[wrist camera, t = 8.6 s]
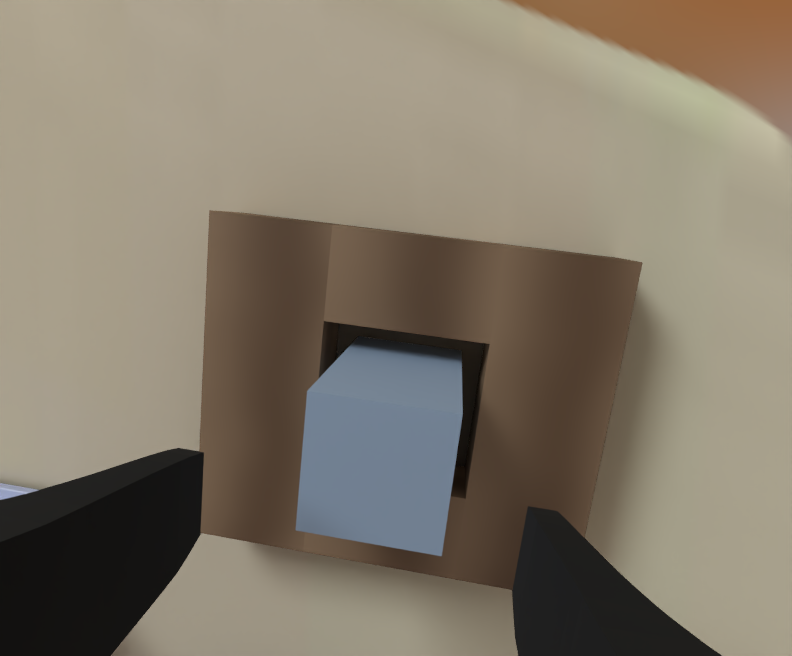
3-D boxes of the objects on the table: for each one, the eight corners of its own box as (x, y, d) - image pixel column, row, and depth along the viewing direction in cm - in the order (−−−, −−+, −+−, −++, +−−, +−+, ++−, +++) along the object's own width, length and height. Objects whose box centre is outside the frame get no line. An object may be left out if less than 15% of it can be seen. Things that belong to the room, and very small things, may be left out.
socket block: (225, 498, 22) (196, 531, 20) (240, 212, 20) (209, 210, 17) (558, 556, 21) (571, 600, 18) (618, 258, 18) (642, 262, 16)
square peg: (348, 432, 21) (295, 530, 14) (358, 335, 20) (307, 391, 13) (447, 447, 21) (441, 556, 14) (461, 350, 20) (462, 414, 13)
